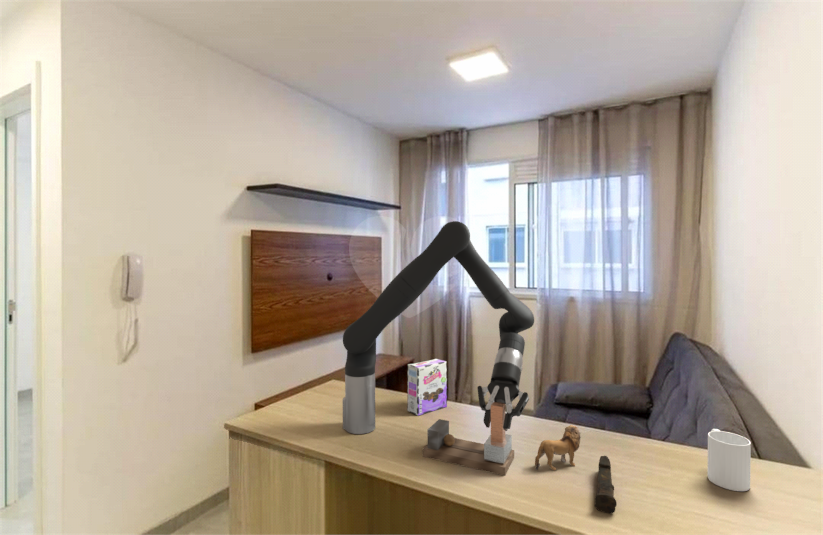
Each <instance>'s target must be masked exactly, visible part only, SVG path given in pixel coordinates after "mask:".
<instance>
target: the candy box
mask: <svg viewBox="0 0 823 535" xmlns="http://www.w3.org/2000/svg"><path fill="white" fill-rule="evenodd" d="M447 363H448V362H447V361H446V360H443V359H439V358H434V359H430V360H424V361H421V362H420V361H419V362H415V363H408V364H407V401H406V402H407V403H406V404H407V406H406V407H407V409H406V410H407V412H409V413H411V414H413V415H415V416H422V415H425V414H428V413H432V412H434V411H438V410H441V409H444V408H447V407H448V390H447V389H448V387H447V386H448V384H447V383H448V382H447V381H448V378H447V377H448V375H447V374H448V373H447V372H448V370H447V369H448V367H447V366H448V364H447Z"/></svg>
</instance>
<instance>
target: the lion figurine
mask: <svg viewBox="0 0 823 535" xmlns="http://www.w3.org/2000/svg"><path fill="white" fill-rule="evenodd" d="M562 435H563V436H562V438H560V439H556V440H552V439H545V440H542V441H541V442H540V444H539V447H538V451H537V455H536V456H535V458H534V465H535V468H534V469H535V471H537V470H539V468H540V467H541V463H540V459H541V458H542V457H543V456H544V455H545V457H546V458H547V462H546V464H547V466H548V467H549V469H550V470H551V471H557V468H556V467H555V466H553V463H552V462H553V459H554V456H556V455H557V456H561V457H560V460H561V462H563V463H565V462H567V459H566V455H568V458H569V459H568V462H569V465H570V466H571V467H576V464H575V462H574V458H575V452H577V451H578V449H580V444H581V438H582V437H581V432H580V429H579V428H578V427H577V426H575V425H571V424H570V425H568V426H566V427H564V432H563V434H562Z"/></svg>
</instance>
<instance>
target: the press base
mask: <svg viewBox="0 0 823 535" xmlns="http://www.w3.org/2000/svg"><path fill="white" fill-rule="evenodd" d="M447 434H450V421H449V420H445V419H441V418H439V419H438V420H436V421H435V422H434V423H433V424H432V425H430V426H429V428H428V429H427V444H426V445H425V446H424V447H423V448H422V457H423V458H427V459H430V460H431V459H432V460H436V461H440V462H444V463H449V464H453V465H456V466H457V465H458V466H462V467H466V468H470V469H475V470H478V471H482V472H483V471H484V472H487V473H492V474H495V475H501V476H505V477H506V475H507V473H508V471H509V470H510V468H511V465H512V464H513V462H514V459H515V449H512V450H511V452H510V454H509V456H508V458H507V460H506V461H505V463H504V464H502V463H497V462H493V461H488V460H484V443H481V442H475V441H471V440H465V439H461V438H456V437H454V439H455V442H454V444H453V445H452V446H447V445H446V444H445V443H444V437H445V435H447Z"/></svg>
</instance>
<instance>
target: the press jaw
mask: <svg viewBox="0 0 823 535" xmlns="http://www.w3.org/2000/svg"><path fill="white" fill-rule="evenodd" d="M505 413H506V404H505V403H500V402H493V403H492V404H491V422H490V435H489V436H488V438H486V440H485V442H484V443H483V444H484V460H488V461H493V462H497V463H502V464H504V463H505V461H506V460H507V458H508V456H509V454H510V452H511V450H513V449H512V448H513V447H512V446H513V445H512V444H513V442H512V434H509V433H506V431H504V429H503V424H504V419H505Z"/></svg>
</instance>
